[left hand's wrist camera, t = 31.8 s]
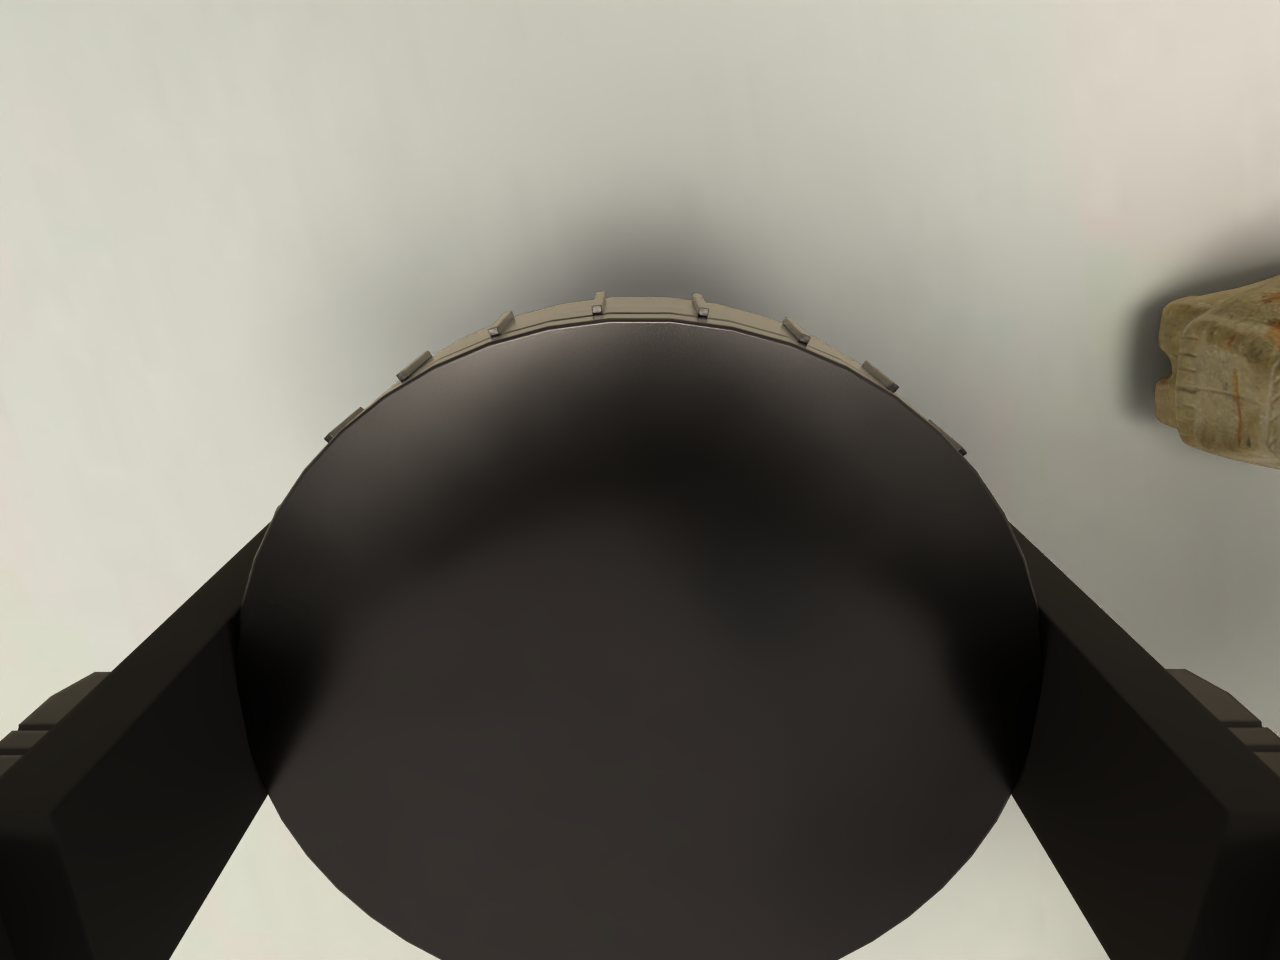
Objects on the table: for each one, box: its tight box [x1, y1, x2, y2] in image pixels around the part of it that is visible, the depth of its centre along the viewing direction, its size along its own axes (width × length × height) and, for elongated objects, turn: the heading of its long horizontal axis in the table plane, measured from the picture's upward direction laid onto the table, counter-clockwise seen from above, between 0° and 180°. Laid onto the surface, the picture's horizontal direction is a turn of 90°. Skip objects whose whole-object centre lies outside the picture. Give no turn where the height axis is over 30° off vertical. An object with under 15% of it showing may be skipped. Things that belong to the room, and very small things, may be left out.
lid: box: [236, 291, 1043, 960], centre depth 11 cm, size 10×10×2 cm
